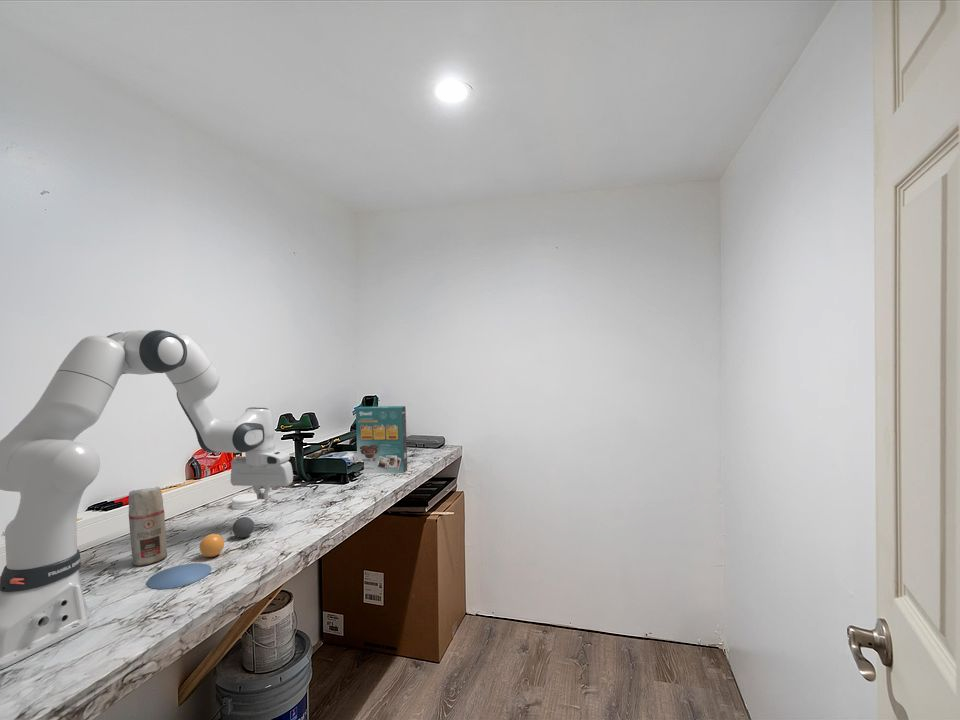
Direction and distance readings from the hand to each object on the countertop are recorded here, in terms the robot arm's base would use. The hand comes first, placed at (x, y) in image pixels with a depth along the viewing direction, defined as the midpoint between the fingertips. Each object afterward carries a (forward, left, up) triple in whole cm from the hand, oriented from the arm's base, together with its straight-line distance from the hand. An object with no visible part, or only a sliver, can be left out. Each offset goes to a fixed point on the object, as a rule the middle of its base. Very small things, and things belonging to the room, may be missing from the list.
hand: (262, 498), depth 161 cm
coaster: (+20, +19, -9) cm, 29 cm away
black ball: (-10, 0, -6) cm, 12 cm away
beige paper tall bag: (-28, +16, -9) cm, 34 cm away
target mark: (-36, 0, -9) cm, 37 cm away
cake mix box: (+72, -15, -9) cm, 74 cm away
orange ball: (-24, 0, -6) cm, 25 cm away
